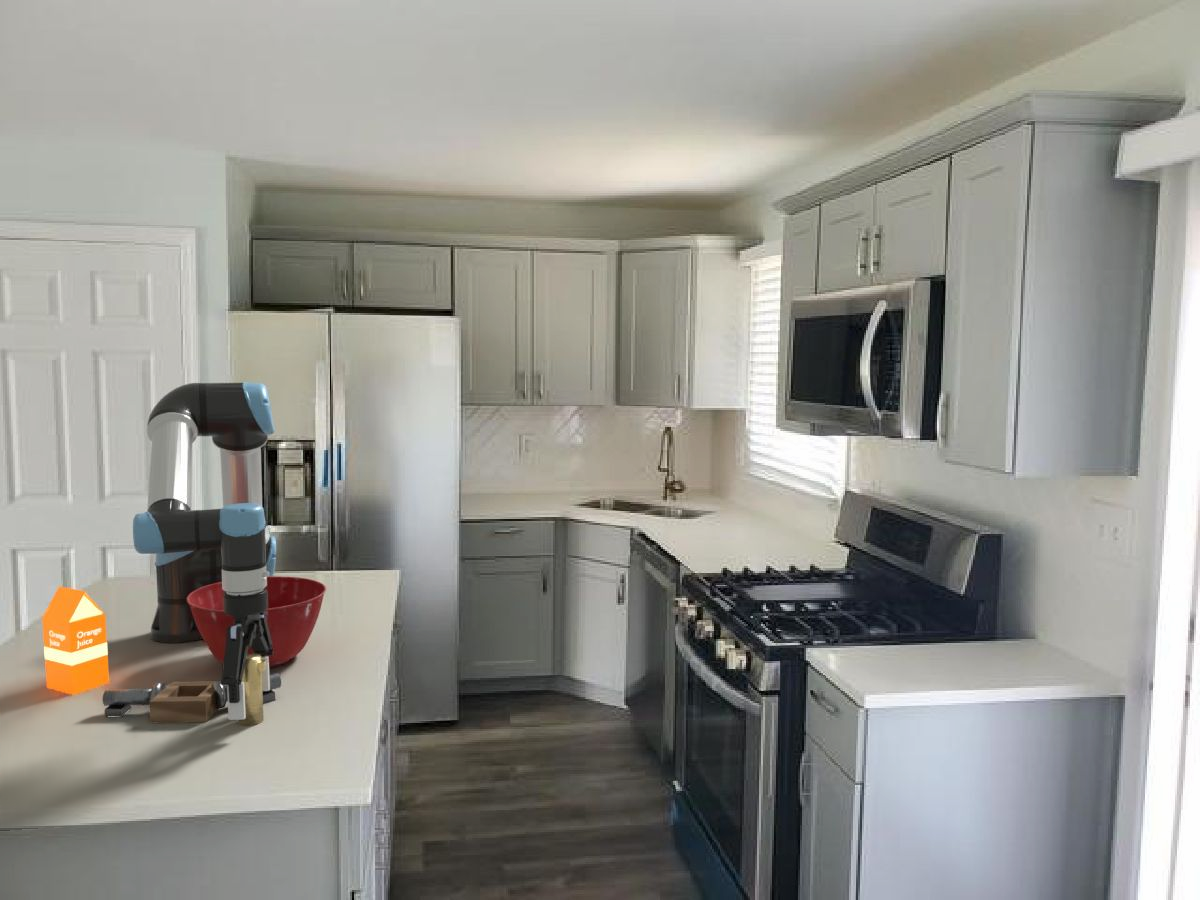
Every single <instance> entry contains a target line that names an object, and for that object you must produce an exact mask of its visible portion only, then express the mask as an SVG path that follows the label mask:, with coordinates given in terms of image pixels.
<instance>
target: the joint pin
mask: <svg viewBox="0 0 1200 900" xmlns="http://www.w3.org/2000/svg"><path fill="white" fill-rule="evenodd" d="M266 668H267V659H264V660H261V655H260V654H254V653H252V654H247V657H246V662H245V667H244V673H243V678H242V682H244V689H245V712H246V718H245V719H242V720H237V724H238V725H239V724H240V725H239V726H241V725H243V726H242V727H250V725H252V726H256V725H258V724H261V723H262V722H264V718H265V717H264V716H265V715H264V703H263V691H262V671H265V669H266Z"/></svg>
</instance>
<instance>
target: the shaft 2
mask: <svg viewBox="0 0 1200 900" xmlns="http://www.w3.org/2000/svg"><path fill="white" fill-rule="evenodd" d="M269 679H270V690H269V691H263V702H265V703H268V701H269V702H272V701H271V700H273V701H275V700H276V692H275V691H273V690H277V689H280V688H281V687H282V678H281V675H280V673H278V672H274V673H269ZM211 688H213V689H214V690H215V691H216V709H218V710H219V709H224V708H225V707H226V704H227V702H228V696H227V685H224V686H223V685H221V680H217V682H213V683H212V685H211Z"/></svg>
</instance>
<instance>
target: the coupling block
mask: <svg viewBox="0 0 1200 900" xmlns="http://www.w3.org/2000/svg"><path fill="white" fill-rule="evenodd" d="M217 681H218V680H217ZM217 681H215V680H209V681H207V680H206V681H205V680H204V681H172V682H171V683H170V684H168V685H166V688H165V689H163V690H162V691H161V692H160V693H159V694H158V695H156V696H155V697H154V698H153V699H152V700H151V701H149V705H148V707H149V723H150V724H152V723H153V724H159V723H160V724H163V722H164V724H166V722H168V723H169V722H170V723H171V722H172V723H207V722H208V721H209V720H210V719H211V718H212V717H213V716H214V714H215V713H217V711H218V710H219V709H216V691H215V690H214V689H213V688H211V685H212V683H213V682H217ZM223 686H224V685H223ZM207 720H208V721H207ZM151 722H152V723H151ZM154 722H156V723H154ZM157 722H158V723H157Z"/></svg>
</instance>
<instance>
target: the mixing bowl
mask: <svg viewBox="0 0 1200 900" xmlns="http://www.w3.org/2000/svg"><path fill="white" fill-rule="evenodd" d="M265 589H266V590H267V591H268V608H267V610H266V611H265V612H266V620H267V624H268V628H269V632H270V637H271V641H272V649H273V650H274V652H273V655H267V656H269V669H270V667H271V668H275V667H274V666H276V667H278V665H279V666H282V665H284V664H287V663H288V662H289V661H291V660H290V659H293V658H295V657H296V656H297V655H299V653H301V652H302V651H303V649H304V648H305V646H306V645H307V643H308V641H309V639H310V637H311V635H312V633H313V631H314V629H315V626H316V624H317V620H318V619H319V616H320V612H321V609H322V604H323V600H324V596H325V594H326V591H327V587H326V585H325V584H324V583H322V582H320V581H317V580H315V579H311V578H305V577H299V576H298V577H297V576H282V575H281V576H279V575H278V576H277V575H275V576H274V575H273V576H270V577H267V586H266V587H265ZM224 593H225V591H224V590H223V589H222V582H219V583H215V584H211V585H207V586H204V587H202V588H199V589H197V590H195V591H193V592H192V593H190V594H189V595H188V597H187V602H188V603H189V604H190V608H191V611H192V614H193V617H194V620H195V623H196V625H197V628H198V630H199V632H200V634H201V636H202V638H203V639H202V640H203V642H204V644H206V647H207V649H208V650H209V651H210V653H211V654H212V656H214V658H216V660H218V661H219V662H221V663H222V664H224V655H225V647H226V629H227V626H232V625H233V624H234V617H233V616H231V615H227V614H225V613H224V607H223V594H224ZM266 643H267V642H266ZM252 653H254V652H253V649H252V647H250V648H248V652H247V654H252ZM281 664H282V665H281Z"/></svg>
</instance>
